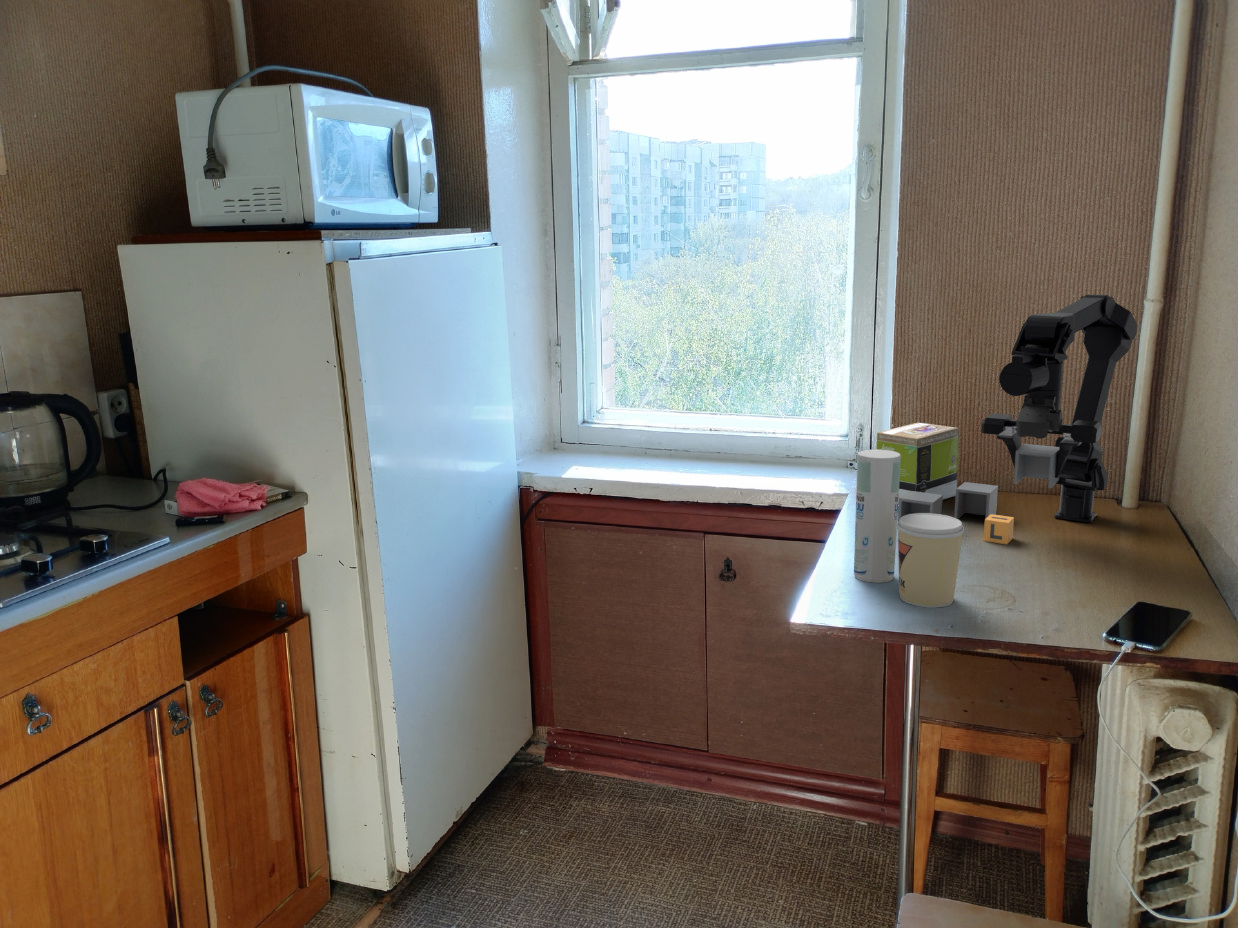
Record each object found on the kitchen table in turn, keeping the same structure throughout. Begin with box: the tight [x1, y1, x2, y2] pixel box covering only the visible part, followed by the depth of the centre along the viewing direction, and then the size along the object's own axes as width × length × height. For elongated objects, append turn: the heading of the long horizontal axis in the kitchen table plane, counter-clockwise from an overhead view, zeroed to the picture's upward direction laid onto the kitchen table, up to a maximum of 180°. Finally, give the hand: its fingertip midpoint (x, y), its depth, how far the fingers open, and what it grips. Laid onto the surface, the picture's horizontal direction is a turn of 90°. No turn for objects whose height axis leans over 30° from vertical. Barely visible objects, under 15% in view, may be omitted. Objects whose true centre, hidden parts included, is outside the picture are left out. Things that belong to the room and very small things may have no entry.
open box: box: [953, 481, 999, 520], centre depth 185 cm, size 6×6×6 cm
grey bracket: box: [1013, 443, 1060, 489], centre depth 171 cm, size 6×6×6 cm
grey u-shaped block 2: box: [897, 491, 944, 530], centre depth 179 cm, size 6×6×6 cm
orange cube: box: [982, 514, 1015, 545], centre depth 171 cm, size 4×4×4 cm
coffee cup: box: [897, 513, 965, 609], centre depth 143 cm, size 9×9×12 cm
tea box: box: [876, 422, 960, 505], centre depth 198 cm, size 15×10×15 cm, turn 130°
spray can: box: [853, 449, 901, 584], centre depth 152 cm, size 6×6×20 cm
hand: (1037, 475), depth 171 cm, fingers closed on grey bracket, 6 cm apart
